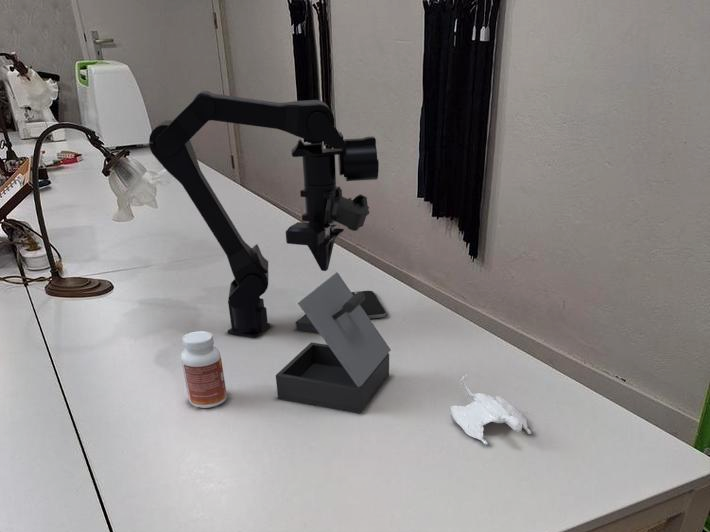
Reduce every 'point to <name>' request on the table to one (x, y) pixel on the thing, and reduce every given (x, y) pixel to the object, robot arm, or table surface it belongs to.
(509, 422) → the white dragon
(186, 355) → the pill bottle
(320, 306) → the box lid with handle
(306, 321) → the switch block
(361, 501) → the table surface
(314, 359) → the open square tray
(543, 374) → the table surface
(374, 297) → the smartphone
